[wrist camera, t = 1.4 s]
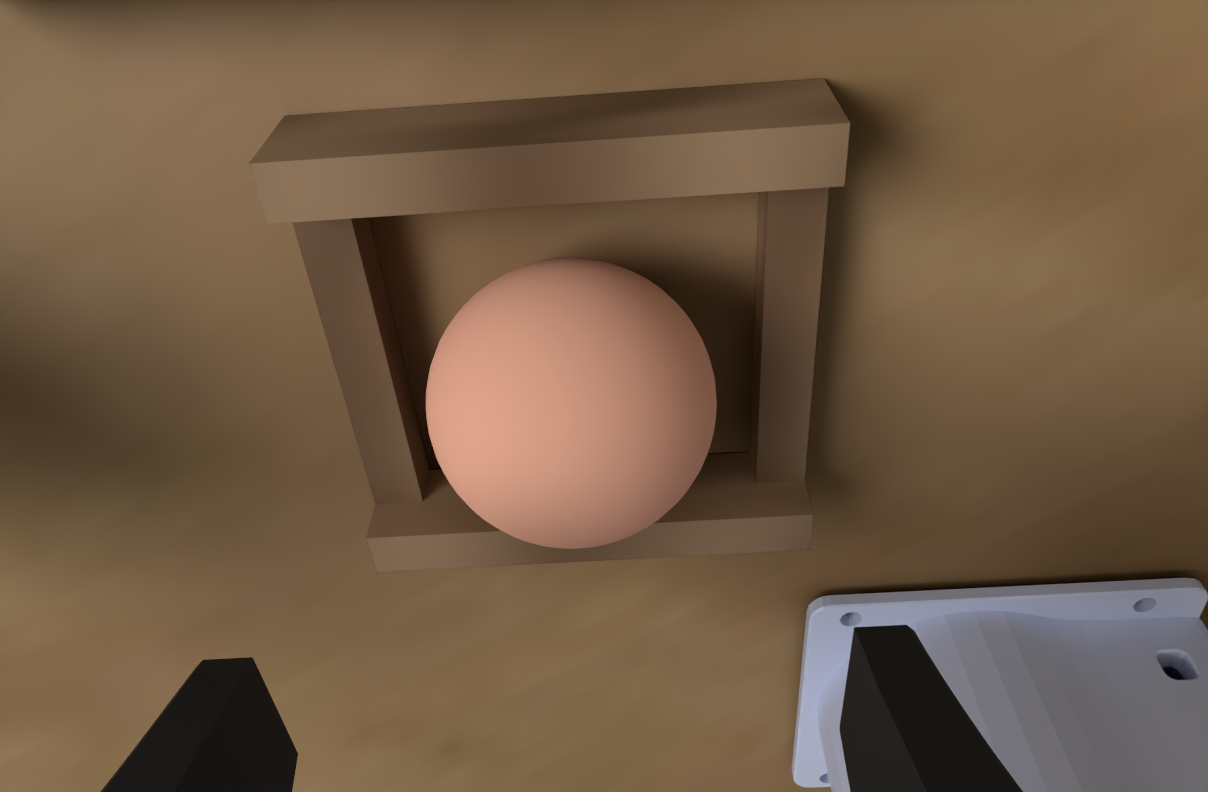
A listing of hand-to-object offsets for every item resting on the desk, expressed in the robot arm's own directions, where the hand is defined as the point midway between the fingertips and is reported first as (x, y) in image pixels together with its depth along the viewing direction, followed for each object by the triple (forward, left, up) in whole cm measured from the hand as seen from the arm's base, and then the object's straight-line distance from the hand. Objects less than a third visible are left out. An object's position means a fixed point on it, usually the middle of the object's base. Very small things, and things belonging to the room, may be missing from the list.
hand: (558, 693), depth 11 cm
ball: (0, 0, -6) cm, 6 cm away
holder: (0, 0, -8) cm, 8 cm away
